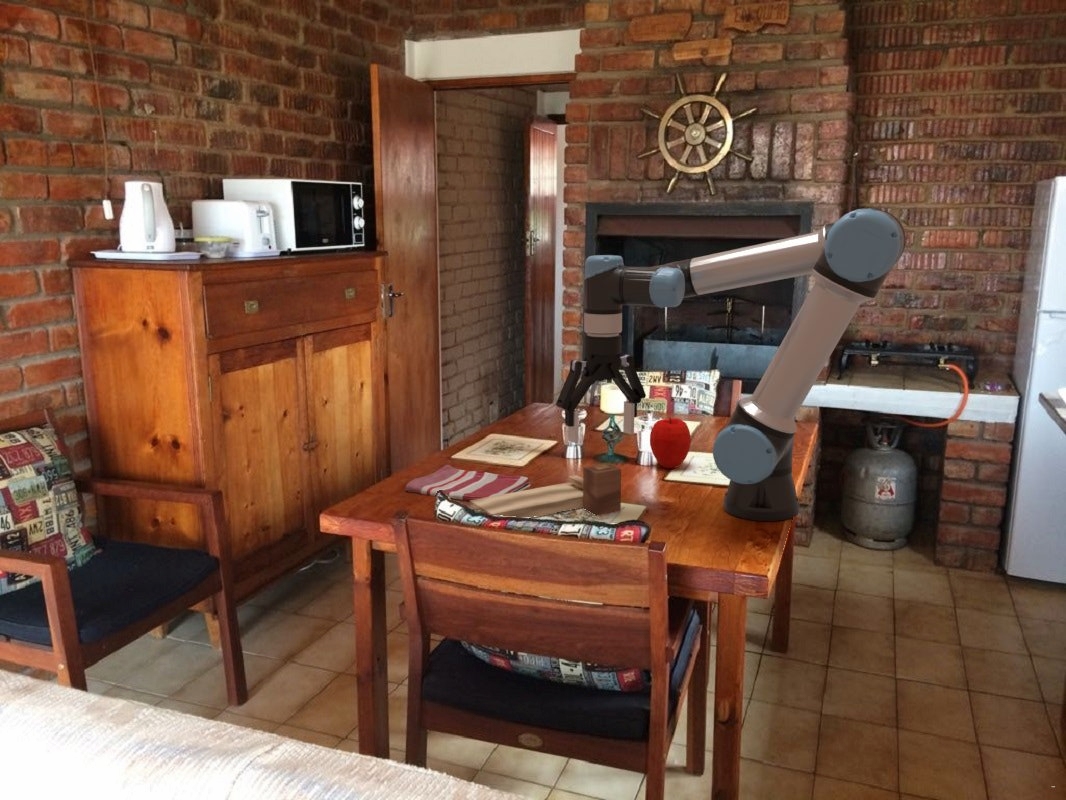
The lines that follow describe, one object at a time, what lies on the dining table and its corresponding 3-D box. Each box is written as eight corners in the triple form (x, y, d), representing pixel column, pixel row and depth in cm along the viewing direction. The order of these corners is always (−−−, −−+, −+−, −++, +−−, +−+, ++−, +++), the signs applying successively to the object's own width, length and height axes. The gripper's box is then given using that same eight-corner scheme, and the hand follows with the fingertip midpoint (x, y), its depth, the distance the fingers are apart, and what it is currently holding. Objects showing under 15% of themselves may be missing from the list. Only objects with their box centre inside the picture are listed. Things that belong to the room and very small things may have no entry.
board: (609, 502, 192) (609, 491, 191) (492, 526, 178) (492, 514, 177) (584, 490, 200) (584, 479, 200) (470, 511, 187) (469, 500, 186)
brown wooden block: (620, 510, 186) (621, 468, 184) (596, 515, 184) (596, 472, 182) (583, 492, 198) (583, 452, 196) (560, 497, 195) (560, 456, 193)
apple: (666, 458, 225) (667, 410, 222) (699, 466, 218) (700, 416, 215) (641, 466, 218) (641, 417, 215) (674, 474, 211) (675, 424, 208)
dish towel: (445, 474, 215) (444, 463, 215) (532, 486, 205) (532, 475, 204) (404, 493, 201) (403, 482, 200) (496, 508, 190) (495, 496, 190)
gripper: (642, 327, 189) (640, 425, 193) (539, 336, 177) (539, 441, 181) (664, 331, 182) (661, 433, 187) (559, 341, 170) (558, 449, 175)
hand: (601, 437), depth 184 cm, fingers open, 13 cm apart
